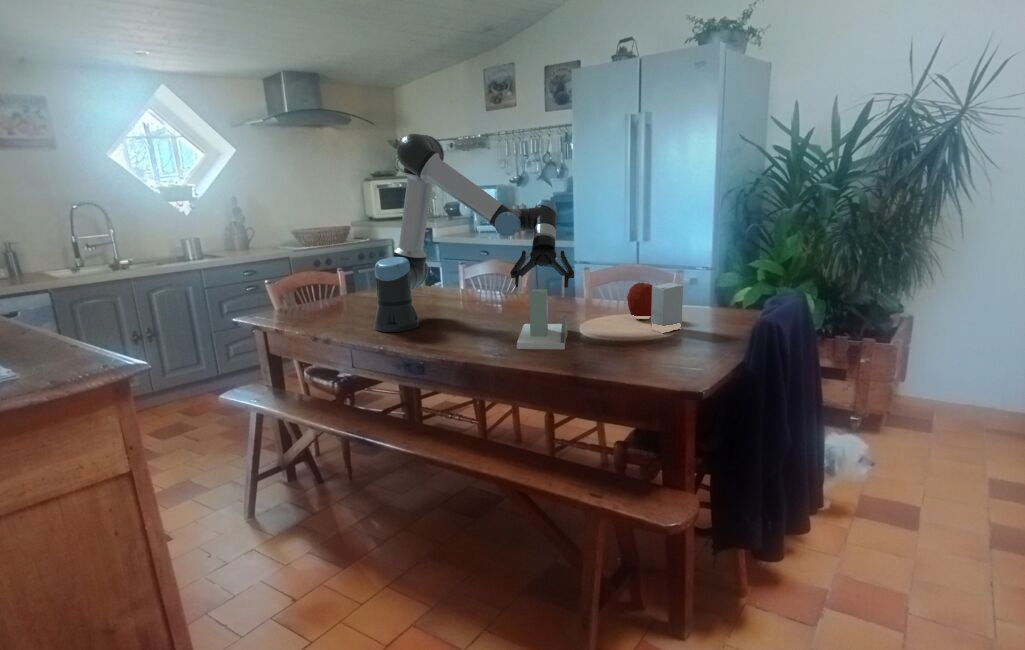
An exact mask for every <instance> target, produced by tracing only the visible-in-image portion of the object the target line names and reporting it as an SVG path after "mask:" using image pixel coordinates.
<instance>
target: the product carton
mask: <svg viewBox="0 0 1025 650" xmlns="http://www.w3.org/2000/svg"><path fill="white" fill-rule="evenodd" d="M528 295H529V324H530V336H547V331H548V324H549V319H548V318H549V308H548V307H549V301H548V300H549V298H548V289H547V288H545V289H544V288H543V289H541V288H540V289H539V288H536V289H533V288H532V289H530V292H529V294H528Z"/></svg>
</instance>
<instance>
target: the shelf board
mask: <svg viewBox="0 0 1025 650" xmlns="http://www.w3.org/2000/svg"><path fill="white" fill-rule="evenodd" d="M567 318H568V317H567V314H563V316H562V321H561V322H562V323H548V331H547V336H530V323H524V324H523V326H522V329H521V330H520V334H519V336H518V339H517V341H516V350H565V347H566V339H567V337H568V325H567V320H568V319H567Z"/></svg>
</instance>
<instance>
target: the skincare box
mask: <svg viewBox="0 0 1025 650" xmlns="http://www.w3.org/2000/svg"><path fill="white" fill-rule="evenodd" d="M683 295H684V285H682V284H679V283H674V282H667V283H662V284H658V285H657V284H655V285H653V286H652V309H651V317H650V324H651V323H653V324H657V325H662V326H666V325H673V324H677V323H680V324H681V325H682V322H683V318H682V317H683V299H684V298H683V297H684V296H683Z"/></svg>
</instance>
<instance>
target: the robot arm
mask: <svg viewBox="0 0 1025 650" xmlns="http://www.w3.org/2000/svg"><path fill="white" fill-rule="evenodd" d="M396 155H397V159H398V161H399V163H400V164H401V166H402V167H403V175H405V177H406V178H407V179H406V181H407V182H406V186H405V187H406V188H405V189H406V190H405V193H404V194H405V196H404V201H403V202H404V203H403V210H402V211H403V212H402V220H401V228H400V235H399V236H400V237H399V243H398V246H397V247H396V248H395V249H394V250H393V253H392V254H393V255H392V256H391V257H387V258H382V259H380V260H378V261H377V262H376V263H375V265H374V277H375V288H376V298H377V310H376V313H375V319H374V329H375V330H376V331H378V332H382V333H383V332H384V333H401V332H407V331H411V330H413V329H416V328H418V327H419V326H420V321H419V320H420V319H419V316H418V314H417V312H416V309H415V307H414V305H413V294H412V290H414V289H417V288H418V287H420V286H421V285H422V284H423V283H424V282H425V281H426V279H427V277H428V273H429V269H428V264H427V263H426V261H427V254H426V252H425V251H424V245H425V244H424V243H425V238H426V230H427V223H428V216H429V208H430V201H431V196H432V195H431V194H432V189H433V188H432V187H433V185H435V186H437V187H438V188H439V189H441V190H442V191H443V192H444V193H446V194H448V195H449V196H450V197H452V198H453V199H455V200H456V201H457V202H459V203H460V204H462V205H463V206H464V207H466V208H467V209H468V210H470V211H471V212H473V213H474V214H476V215H477V216H479V217H480V218H481V219H482V220H484V221H486V222H487V223H488V224H489V225H491V226H492V227H493V228H494V229H495V230H496V232H497V233H498V234H499V235H501V236H502V237H512V236H515V235H516V234H517V233H519V232H525V231H527V232H528V231H529V232H530V231H532V247H531V252H527V251H526V250H522V252H521V256H520V257H519V259H518V260H517V261H516V263H515V264H514V265H513V267H512V269H511V270H510V271H509V274H510V279H515V280H514V285H515V286H514V287H515V288H517V297H518V299H519V298H522V290H523V289H522V287H523V277H524V276H525V275H526V274H527V273H528V272H530V271H531V270H532V268H535V267H536V266H538V267H542V266H544V267H548V266H550V267H552V268H553V269H554V270H555V271H556V272H557V273H558V274H559V275H560V276H561V298H563V299H564V298H565V288H569V280H570V279H574V278H575V271H574V269H573V267H572V266H571V264H570V262H569V261H568V259H567V258H566V255H565V254H566V253H565V250H560V251H559V252H556V240H557V239H556V237H557V219H558V215H557V213H558V212H557V211H558V210H557V208H558V207H557V205H556V203H555V202H553V201H552V200H550V199H541V200H539V201H536V203H535V205H534V207H529V208H528V207H527V208H508V207H507V206H506V205H504V204H503V203H501V202H500V201H499V200H497V198H495V197H494V196H492V195H491V194H489V193H488V192H486V191H485V189H482V188H481V187H479V186H478V185H477V184H476V183H474V182H472V181H471V180H470V179H469V178H467V177H466V176H464V175H463V174H462V173H460V172H458V171H457V170H456V169H455V168H454V167H453V166H451V165H450V164H448V163H447V162H445V161H444V160H445V151H444V148H443V145H442V143H440V141H439V140H438V139H436V138H435V137H433V136H431V135H428V134H419V133H409V134H407V135H404V136H403V137H402V138H401V139H400V141H399V142H398V145H397V148H396ZM529 258H530V259H529ZM556 258H558V259H559V261H561V263H562V265H563V266H561V265H560V263H558V262H557V260H556ZM528 259H529V260H528ZM527 260H528V262H526V261H527ZM525 262H526V263H525ZM563 267H564V268H563Z"/></svg>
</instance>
